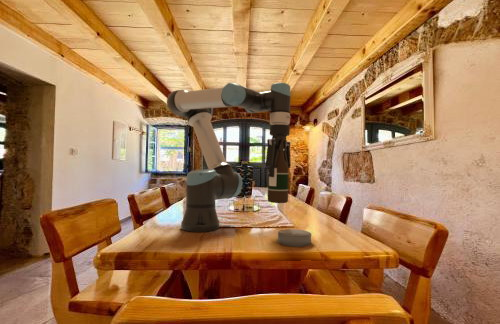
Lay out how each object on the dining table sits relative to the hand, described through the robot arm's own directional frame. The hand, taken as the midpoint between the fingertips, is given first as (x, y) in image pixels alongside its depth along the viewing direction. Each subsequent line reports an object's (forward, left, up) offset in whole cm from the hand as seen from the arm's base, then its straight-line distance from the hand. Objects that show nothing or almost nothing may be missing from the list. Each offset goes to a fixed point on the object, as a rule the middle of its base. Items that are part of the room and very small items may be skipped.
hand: (278, 185), depth 103 cm
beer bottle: (0, 0, -6) cm, 6 cm away
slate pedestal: (+10, -7, -18) cm, 22 cm away
